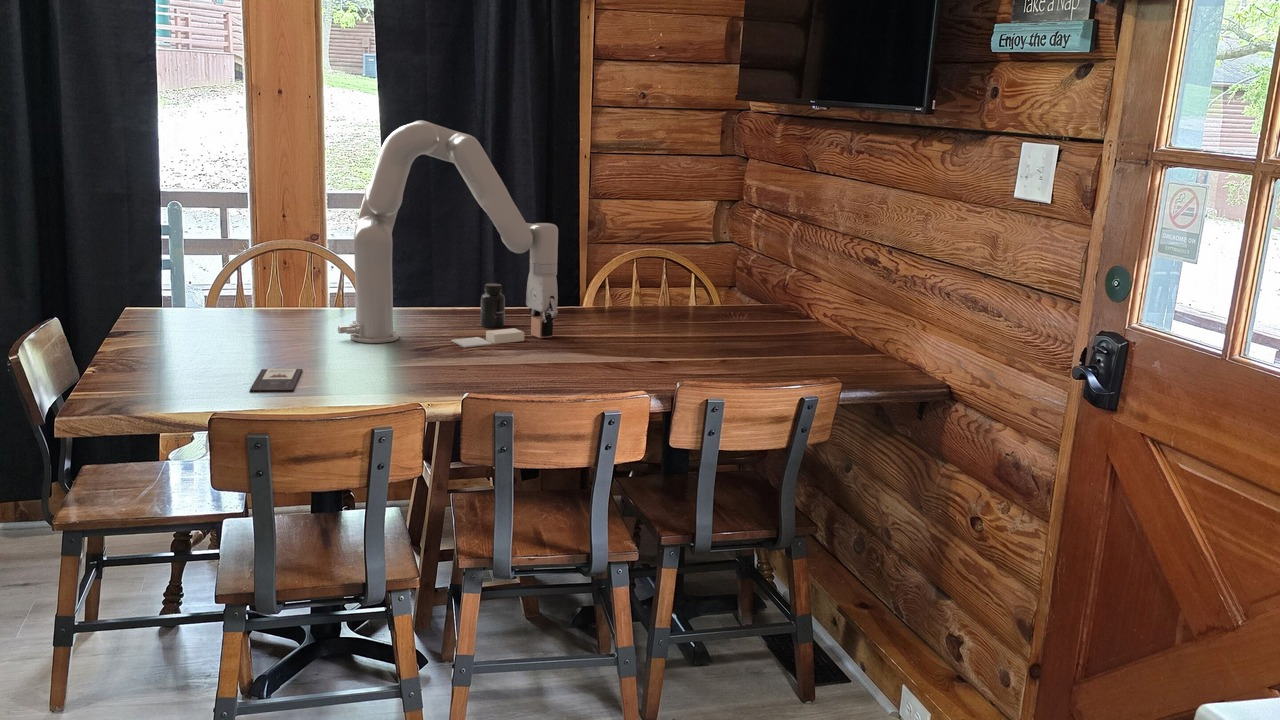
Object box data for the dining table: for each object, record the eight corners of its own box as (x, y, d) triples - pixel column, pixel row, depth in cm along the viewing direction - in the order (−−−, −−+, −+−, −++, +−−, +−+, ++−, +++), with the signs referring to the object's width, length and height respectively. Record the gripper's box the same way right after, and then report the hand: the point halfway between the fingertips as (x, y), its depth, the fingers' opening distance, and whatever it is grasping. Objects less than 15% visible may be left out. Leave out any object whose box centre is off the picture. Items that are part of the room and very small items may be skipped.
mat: (464, 347, 275) (464, 346, 275) (451, 341, 281) (451, 339, 281) (491, 344, 280) (492, 343, 280) (478, 338, 286) (478, 337, 286)
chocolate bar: (249, 390, 226) (261, 369, 244) (249, 394, 227) (262, 373, 244) (293, 389, 228) (302, 368, 245) (293, 393, 229) (302, 372, 246)
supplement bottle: (502, 328, 299) (503, 287, 296) (478, 327, 299) (478, 286, 296) (506, 323, 306) (506, 283, 303) (482, 322, 306) (483, 282, 303)
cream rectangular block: (494, 343, 281) (494, 334, 280) (485, 340, 284) (486, 330, 284) (524, 340, 286) (524, 331, 285) (515, 337, 290) (515, 327, 289)
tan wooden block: (539, 338, 288) (540, 319, 287) (530, 334, 292) (531, 316, 291) (552, 336, 291) (552, 318, 289) (543, 333, 295) (543, 315, 293)
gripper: (516, 264, 292) (515, 329, 296) (547, 274, 278) (545, 341, 283) (539, 263, 296) (538, 326, 300) (571, 273, 282) (569, 339, 287)
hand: (541, 333), depth 291 cm, fingers closed on tan wooden block, 5 cm apart
